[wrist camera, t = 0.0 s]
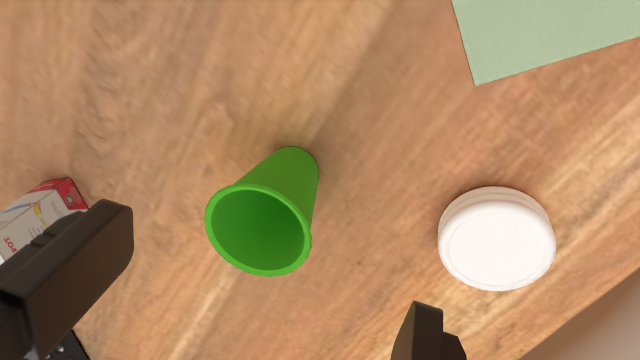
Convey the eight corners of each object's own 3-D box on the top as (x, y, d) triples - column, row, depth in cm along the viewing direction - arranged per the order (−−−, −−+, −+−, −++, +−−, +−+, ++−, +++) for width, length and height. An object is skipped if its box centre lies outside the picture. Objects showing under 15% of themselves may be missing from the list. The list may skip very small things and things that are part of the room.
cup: (357, 173, 44) (334, 243, 35) (298, 221, 49) (263, 293, 39) (290, 108, 42) (246, 163, 33) (234, 163, 47) (183, 225, 38)
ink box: (41, 180, 55) (-48, 239, 45) (72, 176, 53) (-13, 237, 43) (75, 238, 59) (0, 304, 49) (105, 236, 57) (34, 303, 47)
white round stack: (418, 237, 46) (416, 259, 43) (479, 164, 41) (482, 184, 38) (503, 284, 47) (506, 309, 44) (574, 218, 41) (584, 242, 38)
